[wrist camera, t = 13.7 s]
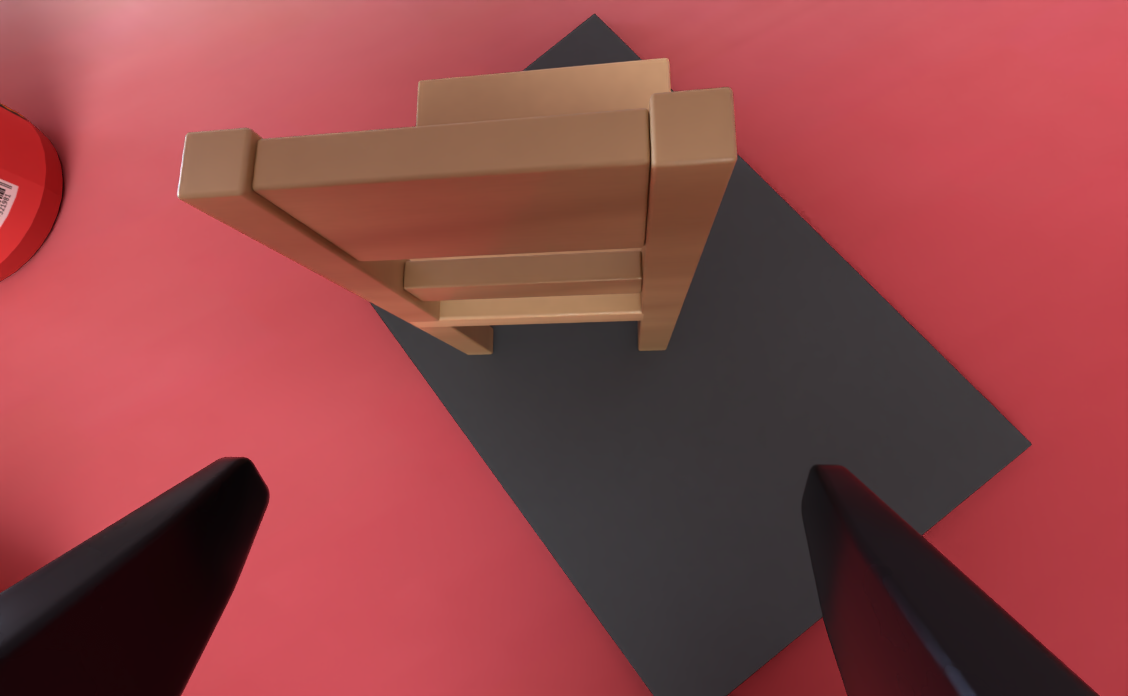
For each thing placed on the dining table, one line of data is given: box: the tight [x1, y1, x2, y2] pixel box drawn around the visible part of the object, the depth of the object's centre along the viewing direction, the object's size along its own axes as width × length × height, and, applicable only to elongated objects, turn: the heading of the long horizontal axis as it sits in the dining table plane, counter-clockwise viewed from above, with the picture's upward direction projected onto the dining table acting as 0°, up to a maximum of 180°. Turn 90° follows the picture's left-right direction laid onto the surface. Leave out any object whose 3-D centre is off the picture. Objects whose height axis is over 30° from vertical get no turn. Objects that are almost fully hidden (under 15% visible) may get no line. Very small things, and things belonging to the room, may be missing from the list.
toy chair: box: [177, 58, 737, 355], centre depth 12 cm, size 7×7×12 cm
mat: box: [370, 14, 1032, 696], centre depth 17 cm, size 20×13×1 cm, turn 38°
